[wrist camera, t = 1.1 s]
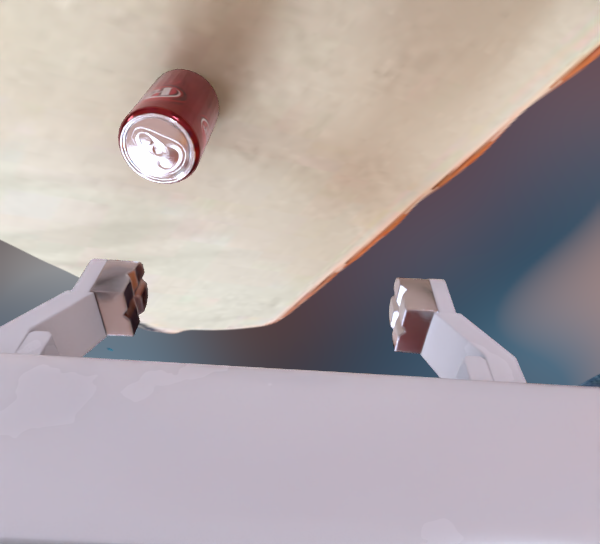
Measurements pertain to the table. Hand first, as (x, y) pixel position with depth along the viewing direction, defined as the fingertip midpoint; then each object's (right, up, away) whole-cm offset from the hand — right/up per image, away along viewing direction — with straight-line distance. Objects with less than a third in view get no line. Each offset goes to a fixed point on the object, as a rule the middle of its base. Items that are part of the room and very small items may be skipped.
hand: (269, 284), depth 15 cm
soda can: (-11, +19, +36) cm, 42 cm away
